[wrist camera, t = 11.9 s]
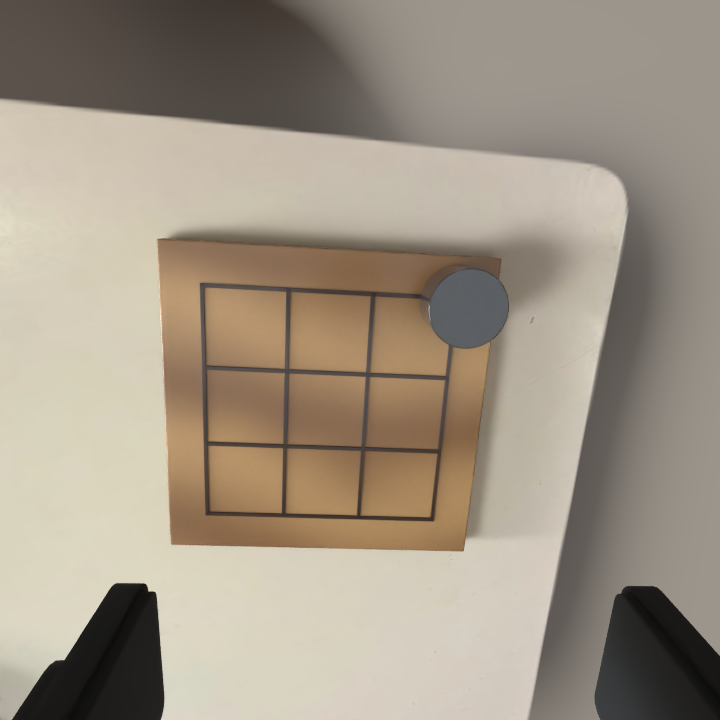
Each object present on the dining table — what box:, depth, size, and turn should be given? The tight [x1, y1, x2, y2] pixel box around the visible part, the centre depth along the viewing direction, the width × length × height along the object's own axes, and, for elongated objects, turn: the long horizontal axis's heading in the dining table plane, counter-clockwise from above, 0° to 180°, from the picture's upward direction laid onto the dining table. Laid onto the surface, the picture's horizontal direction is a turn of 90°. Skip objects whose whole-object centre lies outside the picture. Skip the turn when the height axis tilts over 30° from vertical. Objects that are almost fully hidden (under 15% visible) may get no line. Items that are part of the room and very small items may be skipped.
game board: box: [157, 238, 501, 551], centre depth 31 cm, size 20×20×1 cm
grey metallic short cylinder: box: [420, 265, 509, 349], centre depth 28 cm, size 4×4×3 cm
